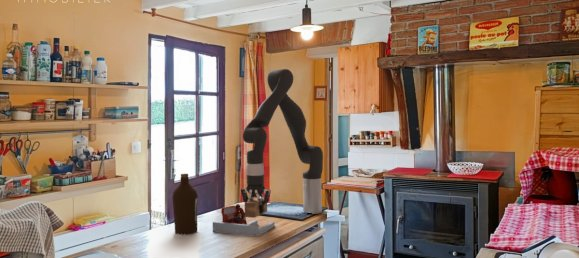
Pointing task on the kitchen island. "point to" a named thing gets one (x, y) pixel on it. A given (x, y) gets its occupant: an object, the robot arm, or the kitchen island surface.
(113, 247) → the kitchen island surface
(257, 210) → the wing block
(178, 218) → the olive oil
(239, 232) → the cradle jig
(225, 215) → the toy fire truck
